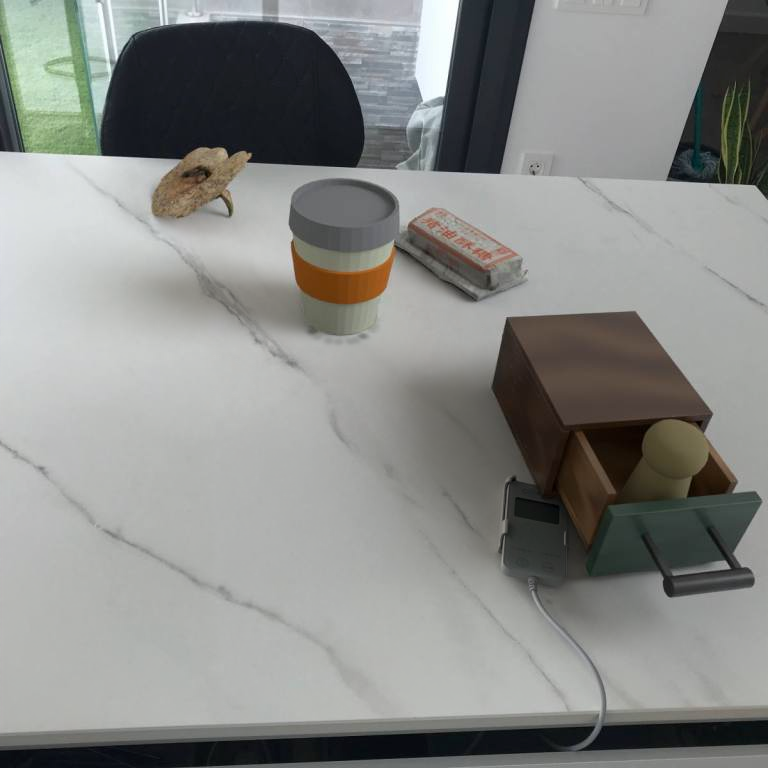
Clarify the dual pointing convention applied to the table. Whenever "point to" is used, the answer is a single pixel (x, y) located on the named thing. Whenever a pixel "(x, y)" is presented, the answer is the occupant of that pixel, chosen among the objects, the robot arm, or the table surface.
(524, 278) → the packaged product
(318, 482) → the table surface
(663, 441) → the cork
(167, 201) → the dried bracket fungus
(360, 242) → the reusable coffee cup
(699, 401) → the cabinet
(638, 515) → the drawer
